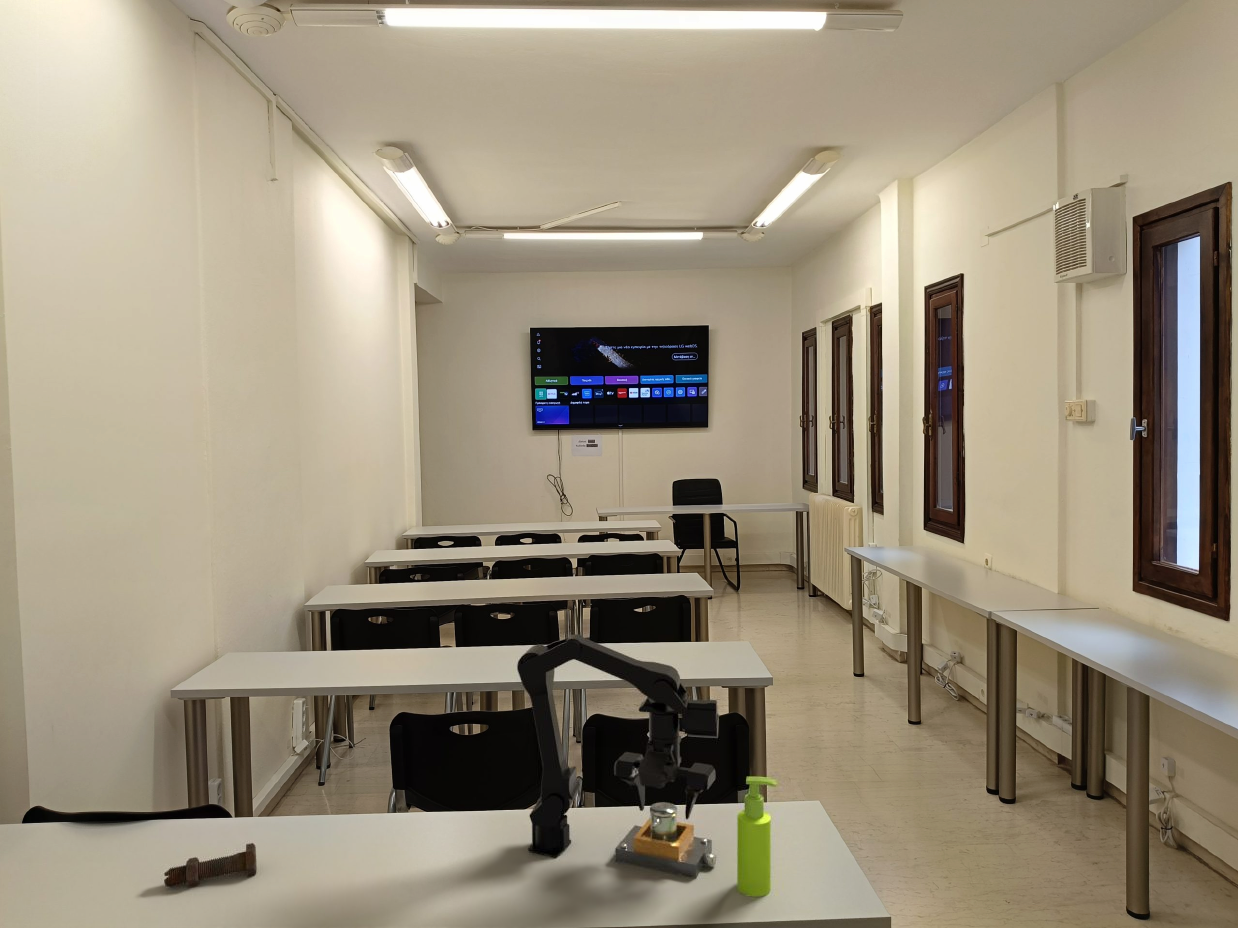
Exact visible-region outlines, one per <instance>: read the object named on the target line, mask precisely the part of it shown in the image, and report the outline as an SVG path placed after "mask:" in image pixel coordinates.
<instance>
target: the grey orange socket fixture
mask: <svg viewBox="0 0 1238 928" xmlns="http://www.w3.org/2000/svg"><path fill="white" fill-rule="evenodd" d="M694 827H695V826H694V824H689V823H682V822H678V821H677V842H676V843H672V842H666V841H661V840H656V839H651V835H650V817H649V818H648V820H647V821H646V822H645V823H644V825H641V826H640V825H634V826H633V827H632V828H631V829H630V830H629V832H628V833H627V834H626V835H625V836H624V837H623V838H622V840H621V841H620V842H619V844H617V846H616V847H615V850H614V851H615V862H618V863H622V864H627V865H632V866H637V867H641V868H646V869H651V870H655V871H660V872H664V873H669V874H674V875H678V874H679V875H678V876H684V877H687V876H688V877H687V878H692V877H693V878H692V879H697V878H698V876H699V875H700V873H701V871H702V869H703V868H704V866H709V867H715V866H716V862H717V855H716V854H712V853H713V847H712V846H713V841H712V839H708V838H705V837H704V838H703V837H698V836H695V835H694V834H695V832H694V830H695V828H694ZM698 874H699V875H698Z"/></svg>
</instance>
